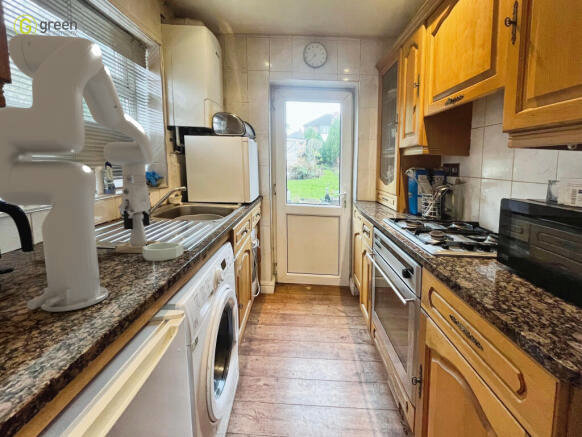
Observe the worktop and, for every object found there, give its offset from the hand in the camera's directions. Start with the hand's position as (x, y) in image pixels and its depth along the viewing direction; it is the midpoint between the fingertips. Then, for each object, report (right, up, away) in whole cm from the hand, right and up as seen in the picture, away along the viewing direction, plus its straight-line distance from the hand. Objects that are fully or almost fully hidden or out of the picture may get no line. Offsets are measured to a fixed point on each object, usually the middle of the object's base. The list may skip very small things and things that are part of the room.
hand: (137, 227), depth 110 cm
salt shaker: (0, -8, +1) cm, 8 cm away
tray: (0, -9, +1) cm, 9 cm away
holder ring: (+13, -10, -7) cm, 17 cm away
